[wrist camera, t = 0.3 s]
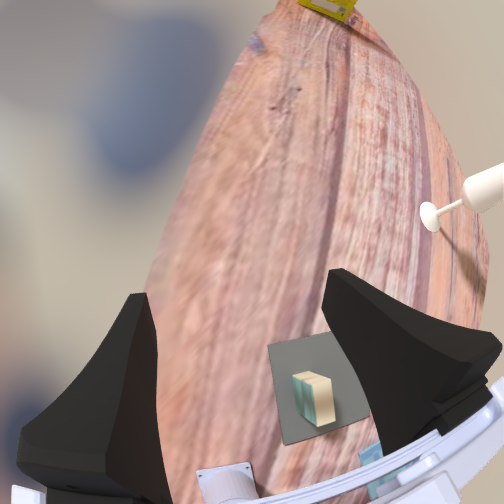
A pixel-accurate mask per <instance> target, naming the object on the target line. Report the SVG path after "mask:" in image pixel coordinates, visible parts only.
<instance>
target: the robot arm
mask: <svg viewBox="0 0 504 504" xmlns="http://www.w3.org/2000/svg"><path fill="white" fill-rule="evenodd" d="M321 308H322V311H323V313H324V316H325V318H326V321H327V323H328V325H329V328H330V329H331V331H332V333H333V335H334V336H335V338H336V340H337V342H338V343H339V345H340V347H341V348H342V350H343V352H344V353H345V355H346V357H347V358H348V360H349V362H350V364H351V365H352V367H353V369H354V371H355V373H356V375H357V377H358V379H359V381H360V384H361V386H362V388H363V391H364V393H365V396H366V399H367V401H368V404H369V407H370V409H371V412H372V415H373V419H374V422H375V425H376V428H377V432H378V436H379V440H380V444H381V448H382V453H383V456H384V457H383V458H381V459H379V460H376V461H374V462H372V463H370V464H367V465H365V466H363V467H360V468H358V469H356V470H353V471H351V472H348V473H345V474H343V475H340V476H337V477H335V478H332V479H329V480H326V481H323V482H320V483H317V484H314V485H311V486H307V487H304V488H301V489H297V490H293V491H290V492H286V493H282V494H278V495H274V496H269V497H265V498H259V496H258V494H257V492H256V488H255V484H254V479H253V475H252V470H251V465H250V463H249V462H244V463H239V464H234V465H228V466H222V467H216V468H210V469H202V470H197V471H196V475H197V478H198V481H199V485H200V488H201V491H202V494H203V497H204V500H205V503H206V504H318V503H321V502H324V501H327V500H330V499H333V498H336V497H338V496H341V495H344V494H346V493H349V492H351V491H354V490H356V489H358V488H361V487H363V486H365V485H368V484H370V483H372V482H374V481H376V480H378V479H381V478H383V477H385V476H387V475H389V474H391V473H393V472H395V471H397V470H398V469H400V468H402V467H404V466H406V465H408V464H410V463H411V462H413V463H412V465H411V466H410V467H408V468H407V469H405V470H404V471H402V472H400V473H398V474H397V475H396V476H395V477H393V478H392V479H390V480H389V481H387V482H386V483H384V484H383V485H381V486H379V487H377V488H376V493H377V495H378V497H379V498H378V499H376V500H374V501H371V502H369V503H367V504H460V501H461V499H462V496H461V495H460V493H459V490H460V489H461V488H463V487H464V486H465V485H466V484H467V483H468V482H469V481H470V480H471V479H472V478H473V477H474V476H475V475H476V474H477V473H478V472H479V471H480V470H481V469H482V468H483V467H484V466H485V465H486V464H487V463H488V462H489V461H490V460H491V459H492V458H493V457H494V455H495V454H496V453H497V452H498V451H499V450H500V449H501V448H502V446H503V445H504V375H503V376H502V377H501V378H500V379H499V380H498V381H496V382H495V383H494V384H493V385H492V386H490V387H489V389H488V388H487V387H486V385H485V384H486V383H487V382H488V380H487V378H486V377H485V374H486V372H487V371H488V370H489V369H490V367H491V366H492V365H493V363H494V362H495V361H496V359H497V358H498V356H499V355H500V352H501V351H502V343H501V342H500V341H499V340H498V339H497V338H496V337H495V336H494V335H493V334H492V333H491V332H486V331H480V330H475V329H469V328H465V327H462V326H458V325H454V324H451V323H448V322H445V321H442V320H439V319H436V318H434V317H431V316H429V315H426V314H424V313H422V312H420V311H417V310H415V309H413V308H411V307H409V306H407V305H405V304H403V303H401V302H399V301H398V300H396V299H394V298H392V297H390V296H389V295H387V294H385V293H383V292H382V291H380V290H378V289H377V288H375V287H373V286H372V285H370V284H369V283H367V282H365V281H364V280H362V279H360V278H359V277H357V276H355V275H354V274H352V273H350V272H349V271H347V270H345V269H343V268H339V269H332V270H329V273H328V278H327V283H326V288H325V293H324V298H323V302H322V307H321ZM157 359H158V352H157V336H156V329H155V325H154V322H153V318H152V314H151V310H150V306H149V302H148V298H147V294H146V293H135V294H130V295H129V297H128V298H127V300H126V302H125V304H124V306H123V308H122V309H121V312H120V313H119V315H118V317H117V318H116V320H115V322H114V323H113V325H112V327H111V329H110V330H109V332H108V334H107V336H106V337H105V338H104V340H103V341H102V343H101V345H100V346H99V348H98V349H97V351H96V352H95V354H94V355H93V357H92V358H91V360H90V361H89V362H88V363H87V365H86V366H85V367H84V369H83V370H82V371H81V372H80V374H79V375H78V376H77V377H76V379H75V380H74V381H73V382H72V383H71V384H70V385H69V387H68V388H67V389H66V390H65V391H64V392H63V393H62V394H61V395H60V396H59V397H58V398H57V399H56V400H55V401H54V402H53V403H52V404H51V405H49V406H48V407H47V408H46V409H45V410H44V411H43V412H42V413H40V414H39V415H38V416H37V417H35V418H34V419H33V420H32V421H30V422H29V423H28V424H27V425H25V426H24V427H23V428H22V429H21V433H20V438H19V445H18V453H17V461H16V464H17V467H18V468H19V469H20V470H21V471H22V472H23V473H25V474H26V475H27V476H29V477H31V478H33V479H34V480H36V481H37V482H39V483H41V484H43V485H44V486H46V487H47V494H45V493H42V492H39V491H35V490H31V489H28V488H24V487H21V486H17V485H12V500H11V501H12V502H11V504H173V502H172V498H171V494H170V490H169V486H168V482H167V478H166V473H165V468H164V463H163V457H162V451H161V445H160V438H159V431H158V422H157V413H156V387H157ZM246 467H249V468H246ZM199 475H202V476H199Z"/></svg>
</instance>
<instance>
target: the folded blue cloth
mask: <svg viewBox="0 0 504 504" xmlns="http://www.w3.org/2000/svg"><path fill="white" fill-rule="evenodd" d="M358 454H359V458H360V462H361V465H362V467H363V466H365V465H367V464H370V463H372V462H374V461H376V460H379V459H381V458H383V457H384V456H383V453H382V448H381V444H380V440H379V441H377V442H376V443H374V444H373V445H371V446H369V447H368V448H366V449H365V450H363V451H361V452H360V453H358ZM412 463H413V462H411V463H410V464H408V465H406V466H404V467H402V468H400V469H398V470H397V471H395V472H393V473H391V474H389V475H387V476H385V477H383V478H381V479H378V480H376V481H374V482H372V483H370V484H368V485H367V489H368V493H369V498H370V500H373V499H375V498H376V497H378V495H377V493H376V488H377V487H379V486H381V485H383V484H384V483H386V482H387V481H389V480H390V479H392V478H393V477H395V476H396V475H397V474H398V473H400V472H402V471H404V470H405V469H407V468H408V467H410V466H411V465H412Z"/></svg>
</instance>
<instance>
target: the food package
mask: <svg viewBox="0 0 504 504" xmlns="http://www.w3.org/2000/svg"><path fill="white" fill-rule="evenodd" d="M356 2H357V0H298V2H297V4H300V5H303V6H305V7H308V8H311V9H313V10H316V11H318V12H321V13H323V14H326V15H328V16H330V17H333V18H335V19H337V20H339V21H342V22H345V20H346V19H347V17H348V15H349V14H350V12H351V10H352V9H353V7H354V5H355V4H356Z"/></svg>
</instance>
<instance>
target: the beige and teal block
mask: <svg viewBox="0 0 504 504" xmlns="http://www.w3.org/2000/svg"><path fill="white" fill-rule="evenodd" d="M292 380H293V387H294V393H295V400H296V407H297V412H298V413H299V414H301V415H302V416H304V417H305V418H306V419H308V420H309V421H310V422H312V423H313V424H315V425H316V426H317V427H319V426H322V425H325V424H328V423H331V422H334V421H336V420H335V411H334V402H333V393H332V385H331V379H330V378H327V377H324V376H321V375H318V374H316V373H313V372H310V371H306V372H303V373H299V374H295V375H293V377H292Z"/></svg>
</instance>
